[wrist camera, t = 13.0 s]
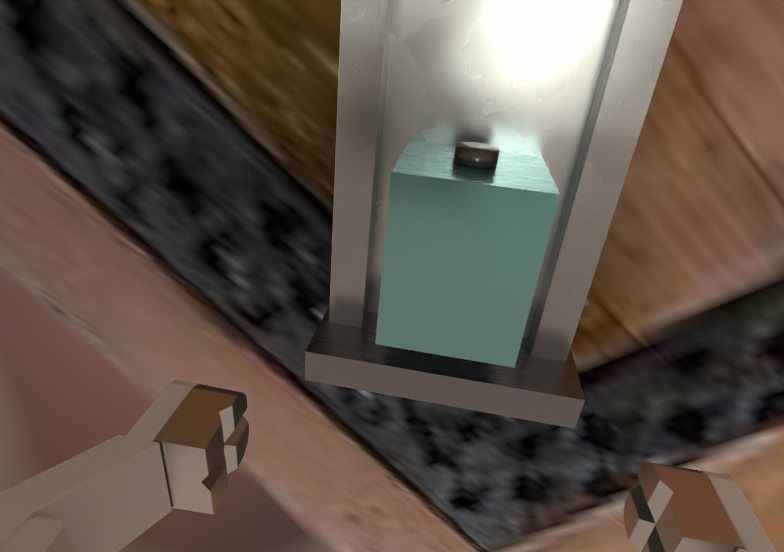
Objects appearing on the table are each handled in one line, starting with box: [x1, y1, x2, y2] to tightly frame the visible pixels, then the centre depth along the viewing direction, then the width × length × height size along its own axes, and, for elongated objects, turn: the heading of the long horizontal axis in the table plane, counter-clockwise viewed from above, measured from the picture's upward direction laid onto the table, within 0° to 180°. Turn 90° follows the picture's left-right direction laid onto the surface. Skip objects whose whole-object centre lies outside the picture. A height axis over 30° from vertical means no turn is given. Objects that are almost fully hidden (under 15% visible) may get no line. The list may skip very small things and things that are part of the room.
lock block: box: [375, 140, 560, 368], centre depth 20 cm, size 6×8×5 cm
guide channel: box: [305, 0, 683, 429], centre depth 20 cm, size 12×20×6 cm, turn 175°
